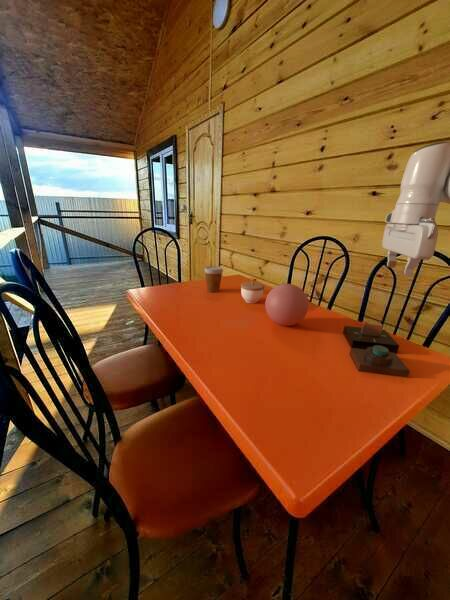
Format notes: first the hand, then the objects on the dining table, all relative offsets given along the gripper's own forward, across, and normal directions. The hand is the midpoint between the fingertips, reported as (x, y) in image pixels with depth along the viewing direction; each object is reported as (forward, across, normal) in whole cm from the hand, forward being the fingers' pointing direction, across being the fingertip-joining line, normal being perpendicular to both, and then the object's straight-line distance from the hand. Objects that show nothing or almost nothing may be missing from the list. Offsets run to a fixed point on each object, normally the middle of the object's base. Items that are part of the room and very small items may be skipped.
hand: (398, 270), depth 69 cm
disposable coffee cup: (+27, +49, +62) cm, 83 cm away
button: (+22, -7, +2) cm, 23 cm away
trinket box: (+26, +38, +41) cm, 61 cm away
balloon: (+26, +16, +25) cm, 40 cm away
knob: (+23, +6, 0) cm, 23 cm away
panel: (+26, +6, 0) cm, 26 cm away
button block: (+26, -7, +2) cm, 27 cm away
